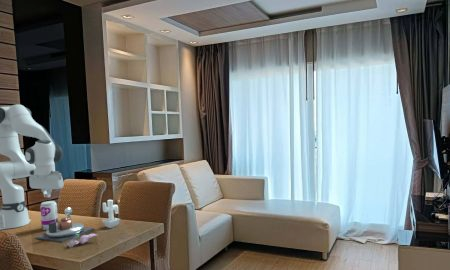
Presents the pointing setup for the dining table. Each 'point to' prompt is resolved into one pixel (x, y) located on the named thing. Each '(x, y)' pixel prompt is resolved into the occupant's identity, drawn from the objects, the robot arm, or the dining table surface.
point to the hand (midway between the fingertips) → (47, 197)
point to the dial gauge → (68, 212)
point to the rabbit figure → (82, 240)
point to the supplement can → (48, 214)
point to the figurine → (110, 214)
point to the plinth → (65, 238)
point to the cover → (64, 224)
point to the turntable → (55, 232)
